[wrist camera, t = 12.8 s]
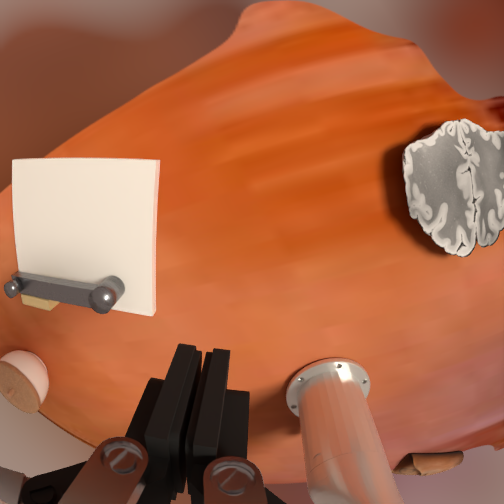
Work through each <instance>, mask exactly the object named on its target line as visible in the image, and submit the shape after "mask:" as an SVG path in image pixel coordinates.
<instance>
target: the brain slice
mask: <svg viewBox="0 0 504 504" xmlns="http://www.w3.org/2000/svg"><path fill="white" fill-rule="evenodd" d="M402 172H403V178H404V182H405V188H406V196H407V204H408V207H409V213H410V216H411V217H412V218H413V219H417V221H418V223H419V224H420V226H421V227H422V229H423V231H424V232H425V234H428V235H429V236H430V235H431V238H432V240H433V241H434V243H435V244H436V245H438V246H439V247H441V248H444V249H445V251H446V252H447V253H448V254H450V255H457V256H459V257H467V256H469V255H470V254H471V253H472V251H473V250H474V248H475V245H476V240H477V242H478V243H479V245H480V246H481V247H486V246H488V245H490V246H491V245H493V244H494V243H495V242H496V241H497V239H498V237H499V233H500V231H502V230H503V229H504V131H502V132H500V131H494V132H490V131H486V130H485V129H483V128H482V127H480V126H479V125H477V124H475V123H473V122H471V121H469V120H467V119H461V120H455V121H446V122H444V123H443V124H442V125H441V126H440V128H438V129H436V130H435V131H433V132H432V133H431V134H429V135H426V136H424V137H423V138H421V139H420V140H416V141H414V142H412V143H410V144H409V145H408V146H407V147H406V148H405V149H404V152H403V154H402Z"/></svg>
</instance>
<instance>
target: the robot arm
mask: <svg viewBox="0 0 504 504" xmlns="http://www.w3.org/2000/svg"><path fill="white" fill-rule="evenodd" d="M229 359H230V350H223V349H215V348H214V349H213V353H212V352H206V356H205V360H204V364H203V368H202V372H201V365H202V351H198V350H196V346H193V345H187V344H179V345H178V347H177V349H176V352H175V355H174V357H173V360H172V362H171V365H170V368H169V370H168V373H167V375H166V378H165V380H162V379H157V378H150V380H149V381H148V384H147V386H146V388H145V390H144V393H143V395H142V397H141V400H140V402H139V404H138V407H137V409H136V411H135V414H134V416H133V418H132V421H131V423H130V426H129V428H128V430H127V433H126V435H125V437H113V438H109V439H107V440H105V441H103V442H102V443H101V444H100V445H99V446H98V447H97V448H96V449H95V451H94V452H93V454H92V455H91V457H90V458H89V459H88V461H85V462H82V463H79V464H76V465H73V466H70V467H66V468H63V469H59V470H56V471H52V472H49V473H45V474H41V475H37V476H35V477H33V478H30V477H26V475H25V474H24V473H20V472H16V471H13V470H9V469H7V468H3V467H0V504H170V502H171V500H176V495H177V492H178V493H183V492H184V488H185V483H186V478H187V484H188V494H190V495H191V504H286V503H285V502H283V501H282V500H281V499H279V498H278V497H277V496H275V495H274V494H273V493H272V492H270V491H269V490H268V489H267V488H265V487H264V482H263V477H262V474H261V472H260V470H259V469H258V467H257V466H256V465H255V464H254V463H252V462H250V461H249V460H247V442H248V420H249V397H250V393H249V392H247V391H237V390H228V389H227V380H228V370H229ZM369 390H370V380H369V376H368V374H367V372H366V370H365V369H364V368H363V367H362V366H361V365H360V364H359V363H357V362H355V361H353V360H349V359H345V358H329V359H324V360H320V361H317V362H314V363H312V364H310V365H308V366H306V367H304V368H303V369H302V370H300V371H299V372H298V373H297V374H296V375H295V376H294V377H293V378H292V379H291V381H290V382H289V384H288V387H287V390H286V401H287V405H288V407H289V409H290V410H291V412H292V413H294V414H295V415H296V416H298V417H299V419H300V427H301V435H302V443H303V452H304V460H305V469H306V478H307V486H308V491H309V495H310V497H311V499H312V500H313V502H314V503H315V504H404V502H403V500H402V498H401V496H400V493H399V491H398V489H397V486H396V483H395V480H394V478H393V475H392V472H391V469H390V466H389V464H388V461H387V458H386V455H385V452H384V449H383V446H382V443H381V440H380V437H379V435H378V432H377V429H376V426H375V423H374V421H373V418H372V415H371V412H370V410H369V407H368V404H367V402H366V397H367V396H368V393H369Z"/></svg>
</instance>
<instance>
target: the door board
mask: <svg viewBox="0 0 504 504" xmlns="http://www.w3.org/2000/svg"><path fill="white" fill-rule="evenodd" d="M159 170H160V160H152V159H128V158H35V159H34V158H33V159H16V160H12V198H13V219H14V232H15V243H16V252H17V260H18V268H19V271H20V272H26V273H31V274H37V275H43V276H48V277H54V278H60V279H66V280H73V281H79V282H85V283H92V284H98V285H99V284H100V283H101V282H102V281H103V280H104V279H106V278H107V277H108V276H112V275H113V276H117V277H118V278H120V279H121V280H122V281H123V283H124V286H125V292H124V294H123V295H122V297H121V298H120V299H119V300H118V301H117V302H116V304H115V305H114V306H113V307H112V308H111V309H113V310H119V311H124V312H130V313H135V314H141V315H147V316H153V315H154V313H155V312H156V224H157V201H158V184H159ZM21 298H22V303H23V304H26V305H29V306H33V307H37V308H40V309H44V310H48V311H50V310H52V309H53V308H54V307H55V306H56V305H57V304H58V303H59V302H58V301H53V300H48V299H43V298H39V297H34V296H30V295H25V294H21Z"/></svg>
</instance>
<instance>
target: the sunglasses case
mask: <svg viewBox="0 0 504 504" xmlns="http://www.w3.org/2000/svg"><path fill="white" fill-rule="evenodd" d="M463 457H464V455H463V452H462V451H458V452H452V453H439V454H408V455H407V456H406V457H405V458H404V459H403V460H402V461H401V462H400V463H399V465H398V466H397V467H396V468H395V469H394V470H391V472H392V473H395V474H403V475H420V476H426V475H432V474H436V473H440V472H443V471H446V470H449V469H451V468H453V467H455V466H457V465H459V464H460V463H461V462H462V460H463Z"/></svg>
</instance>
